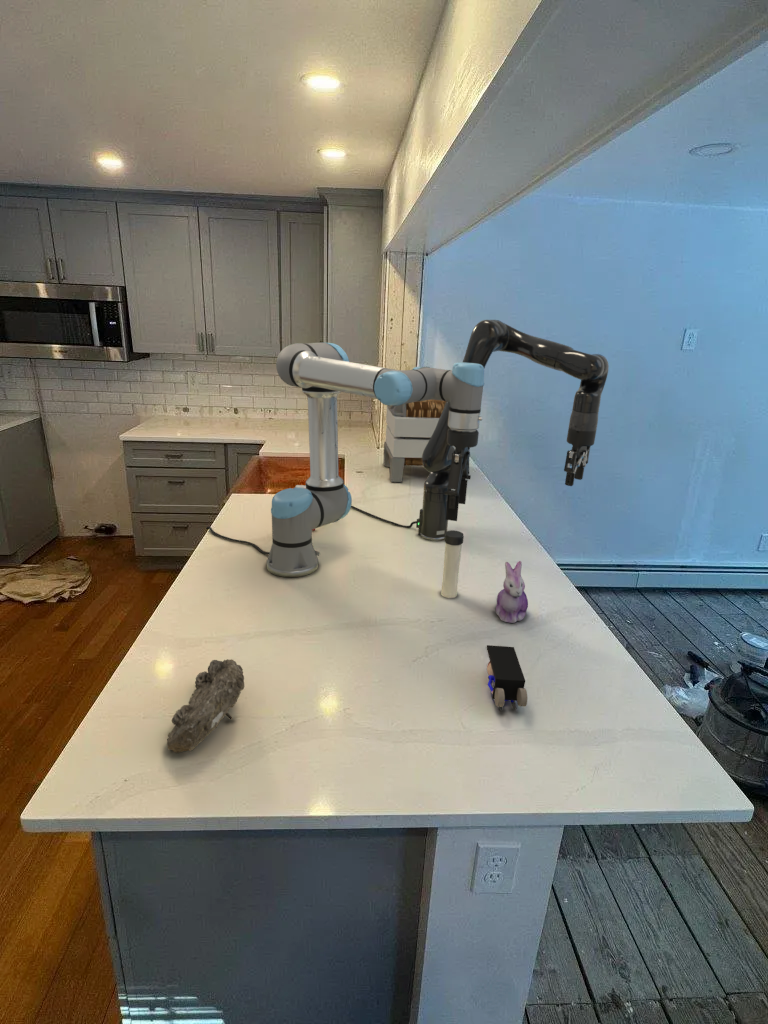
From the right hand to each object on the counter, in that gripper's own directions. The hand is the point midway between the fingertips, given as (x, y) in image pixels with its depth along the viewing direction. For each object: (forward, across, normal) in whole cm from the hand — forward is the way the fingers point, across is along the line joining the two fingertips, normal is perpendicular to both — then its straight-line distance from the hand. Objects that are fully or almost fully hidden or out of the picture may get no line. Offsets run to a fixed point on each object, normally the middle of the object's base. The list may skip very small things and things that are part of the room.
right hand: (573, 482), depth 165 cm
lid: (+11, +35, -20) cm, 41 cm away
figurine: (+29, +34, -1) cm, 45 cm away
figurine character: (+29, +66, +11) cm, 73 cm away
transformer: (+29, -65, -92) cm, 116 cm away
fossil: (+29, +108, -30) cm, 115 cm away
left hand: (+3, +40, -17) cm, 43 cm away
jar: (+29, +35, -20) cm, 49 cm away
